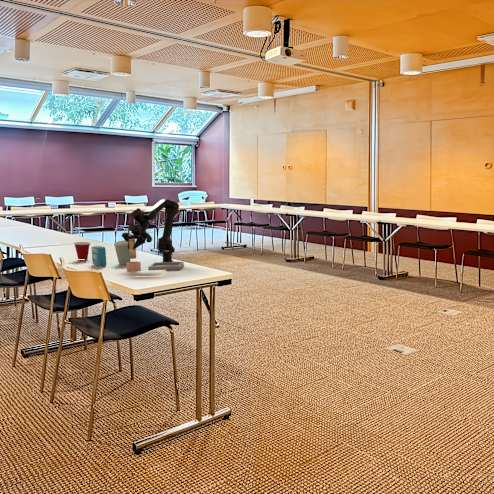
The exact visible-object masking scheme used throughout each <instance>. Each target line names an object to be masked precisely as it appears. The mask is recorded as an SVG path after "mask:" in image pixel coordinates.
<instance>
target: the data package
mask: <svg viewBox="0 0 494 494" xmlns="http://www.w3.org/2000/svg"><path fill="white" fill-rule="evenodd" d="M91 257H92V258H91V260H92V265H93V264H94V265H93V266H95V265H97V266H96V267H99V266H101V267H106V266H107V252H106V247H105V246H101V245H93V246H91Z"/></svg>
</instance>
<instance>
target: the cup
mask: <svg viewBox="0 0 494 494" xmlns="http://www.w3.org/2000/svg"><path fill="white" fill-rule="evenodd" d="M141 265H142V264H141V261H137V260H136V261H134V260H132V261H130V262H127V263H126V265H125V266H126V271H129V272H133V271H140V270H142V266H141Z"/></svg>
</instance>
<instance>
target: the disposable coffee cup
mask: <svg viewBox="0 0 494 494" xmlns="http://www.w3.org/2000/svg"><path fill="white" fill-rule="evenodd" d="M114 248H115V249H114V250H115V253H116V257H117V261H118V264H119V265H123V266H124V265H125V266H127V265H126V263H127V262H131V259H130V250H129V249H128V242H127V241H125V240H118V241H115V243H114Z"/></svg>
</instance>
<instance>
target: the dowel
mask: <svg viewBox="0 0 494 494" xmlns="http://www.w3.org/2000/svg"><path fill="white" fill-rule="evenodd" d="M135 243H136V239H129V250H130V260H135V259H137V248H136V249H133V247H134V245H135Z"/></svg>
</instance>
